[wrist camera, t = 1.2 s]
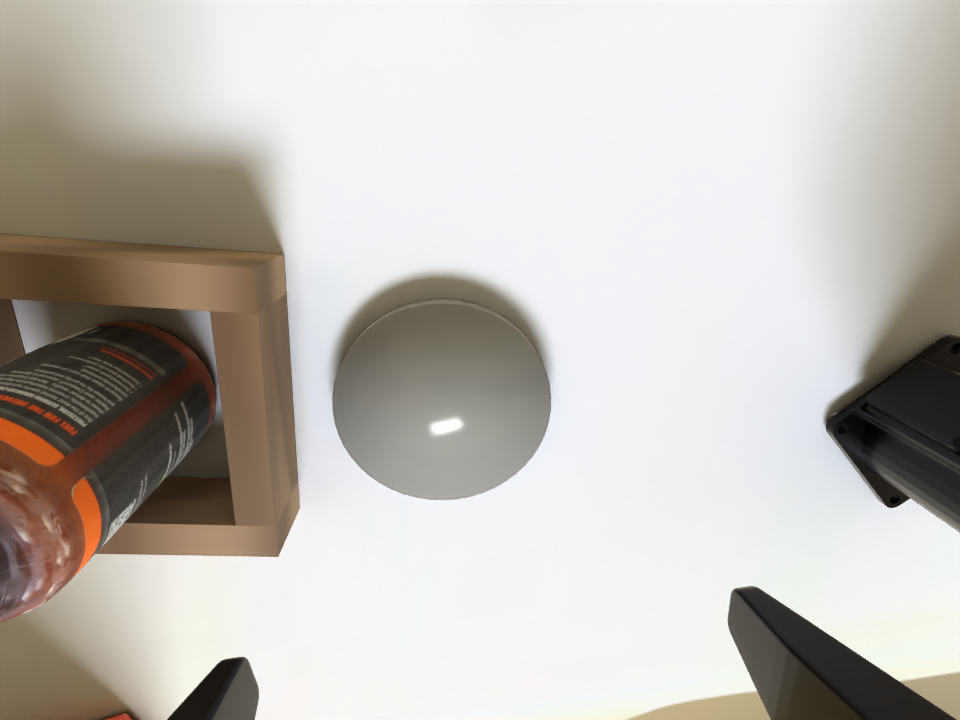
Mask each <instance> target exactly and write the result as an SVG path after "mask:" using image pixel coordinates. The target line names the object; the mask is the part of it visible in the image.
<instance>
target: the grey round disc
mask: <svg viewBox="0 0 960 720" xmlns="http://www.w3.org/2000/svg"><path fill="white" fill-rule="evenodd" d="M550 411H551V393H550V385H549V381H548V377H547V374H546V371H545V368H544V366H543V364H542V361H541V359H540V357H539V355H538V353H537V352H536V350H535V348H534V347H533V345H532V344H531V342H530V341H529V339H528V338H527V337H526V336H525V335H524V334H523V332H522V331H521V330H520V329H519V328H517V327H516V326H515V325H514V324H513V323H512V322H511V321H509V320H508V319H506V318H505V317H503V316H502V315H500V314H499V313H497V312H495V311H493V310H491V309H489V308H487V307H484V306H481V305H478V304H475V303H472V302H467V301H462V300H455V299H429V300H423V301H417V302H413V303H410V304H407V305H404V306H400V307H398V308H396V309H394V310H392V311H390V312H388V313H386V314H384V315H383V316H381V317H380V318H378V319H377V320H375V321H374V322H373V323H372V324H370V325H369V326H368V327H367V328H366V329H365V330H364V331H363V332H362V333H361V334H360V335H359V336H358V338H357V339H356V340H355V341H354V343H353V344H352V346H351V347H350V349H349V350H348V352H347V354H346V356H345V357H344V359H343V361H342V364H341V366H340V368H339V370H338V373H337V376H336V380H335V383H334V390H333V415H334V421H335V425H336V428H337V431H338V434H339V437H340V439H341V441H342V443H343V445H344V447H345V449H346V450H347V452H348V453H349V455H350V456H351V458H352V459H353V460H354V461H355V462H356V463H357V464H358V466H359V467H360V468H361V469H362V470H364V471H365V472H366V473H367V474H368V475H369V476H370V477H372V478H373V479H375V480H376V481H378V482H379V483H381V484H383V485H384V486H386V487H388V488H390V489H392V490H395V491H397V492H400V493H402V494H405V495H409V496H413V497H417V498H423V499H430V500H452V499H460V498H466V497H470V496H474V495H477V494H481V493H483V492H486V491H488V490H490V489H493V488H495V487H497V486H498V485H500V484H502V483H504V482H505V481H507V480H508V479H510V478H511V477H512V476H514V475H515V474H516V473H517V472H518V471H519V470H521V469H522V468H523V467H524V466H525V465H526V464H527V462H528V461H529V460H530V459H531V458H532V456H533V455H534V453H535V452H536V450H537V449H538V447H539V446H540V444H541V442H542V439H543V437H544V435H545V432H546V429H547V426H548V423H549V418H550Z"/></svg>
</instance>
